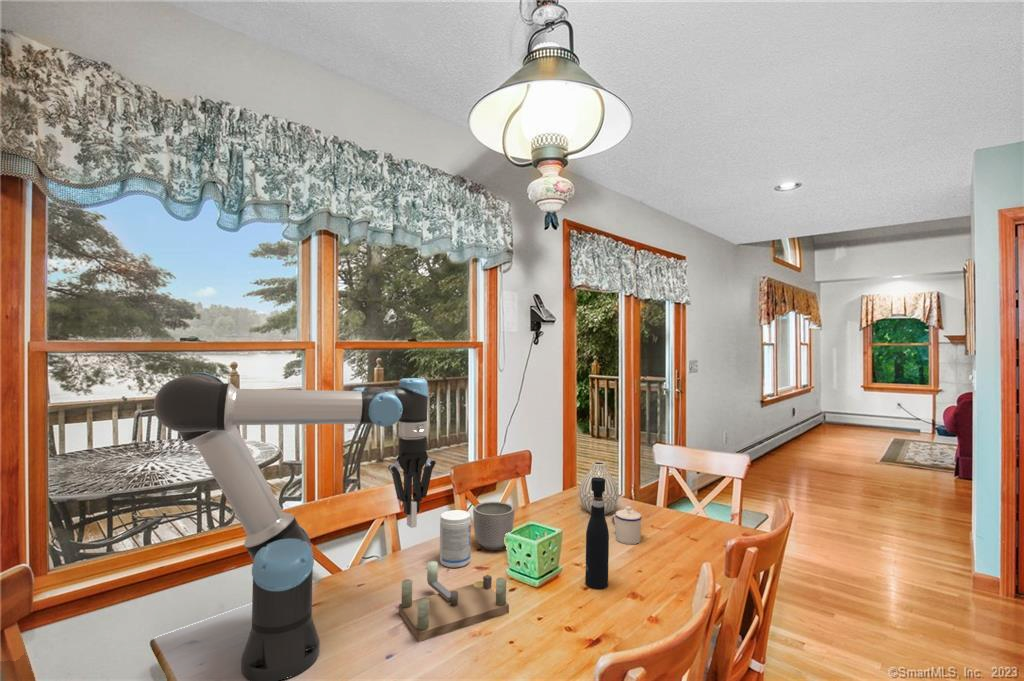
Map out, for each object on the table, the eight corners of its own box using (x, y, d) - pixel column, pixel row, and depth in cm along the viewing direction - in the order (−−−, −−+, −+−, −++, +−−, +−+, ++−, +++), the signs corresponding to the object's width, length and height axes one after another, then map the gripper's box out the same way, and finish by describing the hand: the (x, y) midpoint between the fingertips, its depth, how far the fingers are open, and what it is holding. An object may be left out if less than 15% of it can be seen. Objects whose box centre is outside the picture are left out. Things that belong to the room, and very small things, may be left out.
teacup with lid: (646, 541, 170) (647, 507, 171) (630, 547, 165) (630, 513, 165) (619, 530, 180) (620, 498, 180) (603, 536, 174) (603, 503, 174)
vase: (578, 516, 194) (579, 466, 194) (579, 503, 210) (580, 457, 210) (619, 519, 191) (619, 468, 191) (617, 506, 207) (617, 459, 207)
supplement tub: (475, 564, 150) (476, 516, 150) (448, 571, 145) (448, 522, 145) (461, 552, 158) (462, 507, 159) (434, 559, 153) (435, 512, 153)
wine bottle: (612, 584, 139) (614, 479, 140) (600, 592, 135) (601, 483, 135) (593, 576, 144) (595, 474, 144) (580, 584, 139) (582, 478, 139)
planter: (521, 549, 162) (522, 510, 162) (486, 559, 154) (486, 518, 154) (499, 535, 173) (499, 499, 173) (465, 543, 165) (465, 505, 166)
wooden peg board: (419, 641, 111) (419, 606, 111) (398, 611, 123) (398, 579, 123) (510, 612, 124) (510, 580, 124) (483, 587, 136) (483, 558, 136)
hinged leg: (456, 598, 125) (456, 577, 125) (446, 602, 123) (446, 580, 123) (434, 580, 135) (434, 560, 135) (425, 583, 133) (425, 562, 133)
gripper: (396, 441, 122) (394, 536, 122) (441, 436, 130) (440, 524, 130) (383, 437, 128) (382, 526, 128) (428, 432, 136) (426, 516, 136)
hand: (411, 525), depth 129 cm, fingers closed
